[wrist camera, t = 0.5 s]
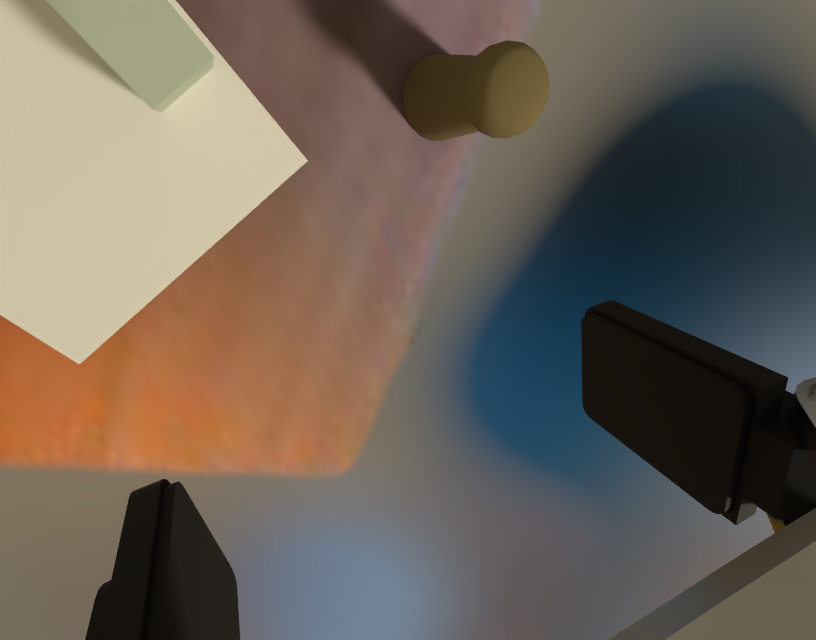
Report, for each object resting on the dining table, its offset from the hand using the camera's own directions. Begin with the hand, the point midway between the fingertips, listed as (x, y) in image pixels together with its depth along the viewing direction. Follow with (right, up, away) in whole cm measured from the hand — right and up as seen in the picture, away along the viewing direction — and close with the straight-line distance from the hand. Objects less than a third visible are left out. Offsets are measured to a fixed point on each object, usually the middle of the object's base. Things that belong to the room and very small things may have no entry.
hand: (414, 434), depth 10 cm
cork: (+2, +20, +25) cm, 32 cm away
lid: (-18, +12, +13) cm, 25 cm away
